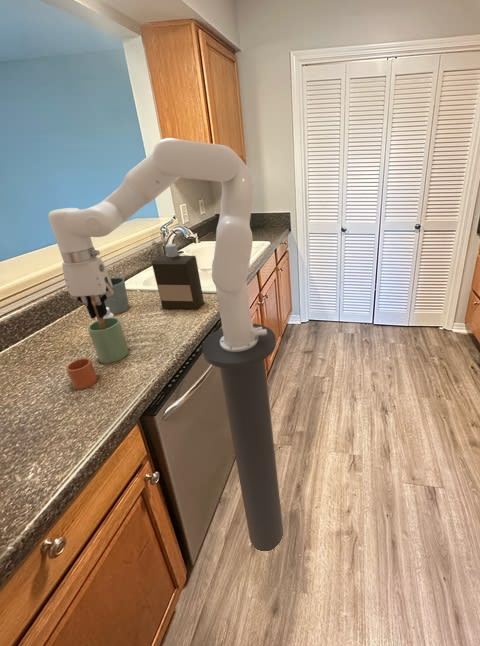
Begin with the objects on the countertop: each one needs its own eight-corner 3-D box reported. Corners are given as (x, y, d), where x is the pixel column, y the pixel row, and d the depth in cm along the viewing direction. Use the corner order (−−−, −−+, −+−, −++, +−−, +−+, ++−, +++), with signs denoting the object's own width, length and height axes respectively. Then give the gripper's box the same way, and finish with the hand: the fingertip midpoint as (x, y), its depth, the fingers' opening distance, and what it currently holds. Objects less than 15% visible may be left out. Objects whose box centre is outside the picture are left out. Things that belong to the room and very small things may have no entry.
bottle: (170, 300, 135) (156, 242, 125) (206, 301, 132) (195, 242, 122) (159, 309, 127) (144, 248, 118) (197, 310, 125) (185, 248, 115)
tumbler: (131, 345, 104) (122, 315, 100) (125, 360, 97) (115, 328, 92) (104, 350, 102) (93, 319, 98) (95, 365, 95) (83, 333, 91)
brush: (118, 345, 100) (102, 296, 93) (113, 351, 97) (96, 300, 90) (107, 346, 100) (91, 296, 93) (102, 352, 97) (84, 301, 90)
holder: (100, 374, 91) (93, 356, 89) (93, 387, 86) (86, 368, 84) (78, 377, 90) (71, 360, 88) (69, 391, 85) (62, 372, 83)
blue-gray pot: (118, 302, 135) (110, 276, 131) (137, 305, 132) (130, 278, 127) (97, 313, 127) (88, 285, 122) (117, 316, 123) (108, 288, 119)
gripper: (115, 249, 90) (132, 308, 98) (58, 253, 90) (79, 311, 97) (101, 258, 83) (120, 320, 91) (39, 261, 83) (64, 324, 90)
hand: (99, 315), depth 94 cm, fingers closed on brush
